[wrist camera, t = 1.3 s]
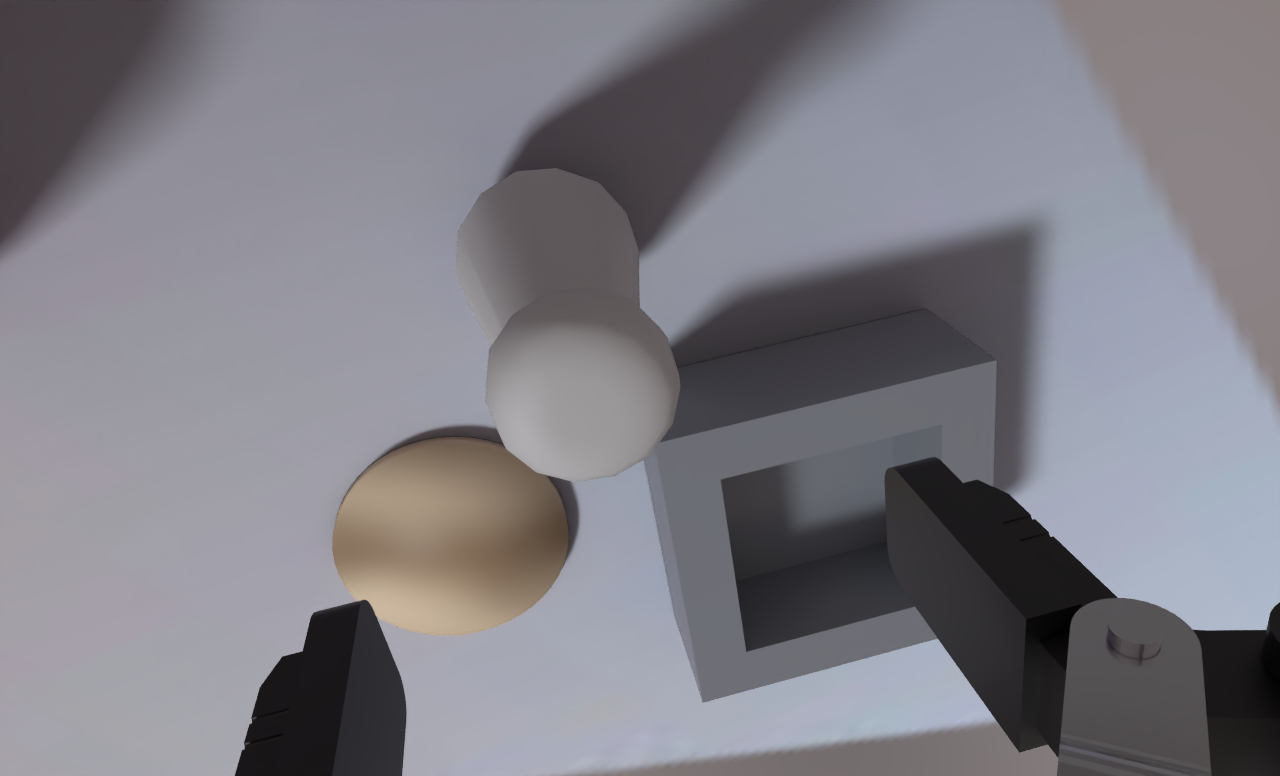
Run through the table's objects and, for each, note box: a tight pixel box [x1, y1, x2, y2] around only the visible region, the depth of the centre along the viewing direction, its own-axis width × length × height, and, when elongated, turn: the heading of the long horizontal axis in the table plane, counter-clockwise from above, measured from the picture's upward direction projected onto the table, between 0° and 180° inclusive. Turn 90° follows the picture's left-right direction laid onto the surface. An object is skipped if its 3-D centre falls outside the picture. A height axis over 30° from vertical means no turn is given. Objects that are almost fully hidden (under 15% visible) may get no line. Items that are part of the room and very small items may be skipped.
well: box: [644, 309, 997, 702], centre depth 33 cm, size 12×12×5 cm
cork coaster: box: [333, 437, 569, 635], centre depth 34 cm, size 9×9×1 cm
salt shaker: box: [455, 168, 680, 482], centre depth 24 cm, size 6×6×13 cm
